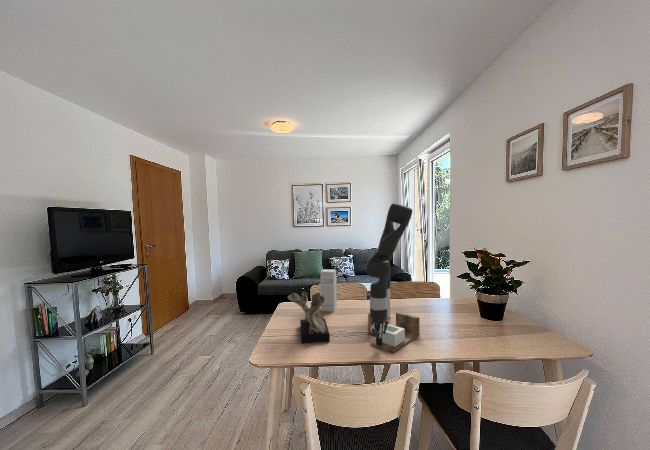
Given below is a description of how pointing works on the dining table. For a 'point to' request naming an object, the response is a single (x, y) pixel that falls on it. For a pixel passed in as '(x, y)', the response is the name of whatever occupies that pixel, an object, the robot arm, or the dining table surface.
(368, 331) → the dowel
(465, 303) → the dining table surface
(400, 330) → the hole block
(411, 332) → the walnut angle bracket
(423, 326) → the dining table surface
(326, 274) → the box
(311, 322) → the coral
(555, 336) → the dining table surface
